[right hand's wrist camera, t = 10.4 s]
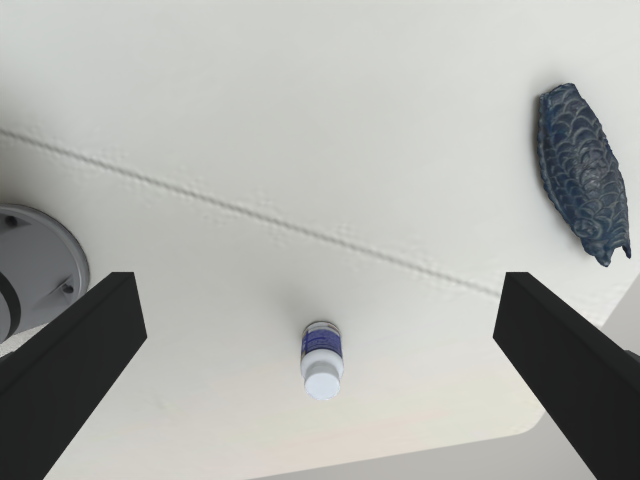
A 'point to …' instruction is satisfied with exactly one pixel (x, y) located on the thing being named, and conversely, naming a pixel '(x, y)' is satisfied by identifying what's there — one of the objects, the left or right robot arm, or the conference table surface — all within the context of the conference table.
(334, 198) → the conference table surface
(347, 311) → the conference table surface
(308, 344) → the pill bottle
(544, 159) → the fish model
